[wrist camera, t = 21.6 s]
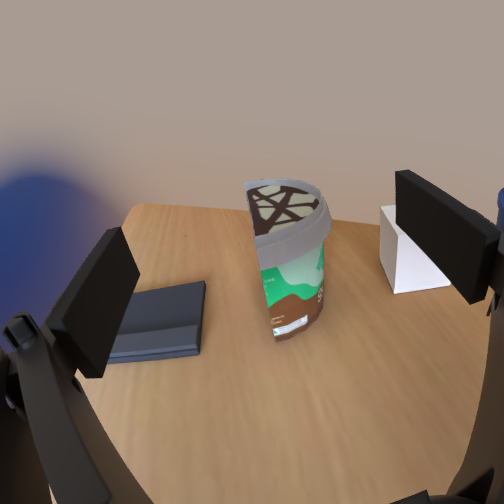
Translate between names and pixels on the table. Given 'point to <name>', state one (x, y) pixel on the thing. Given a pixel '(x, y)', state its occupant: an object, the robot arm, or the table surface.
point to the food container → (289, 250)
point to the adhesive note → (405, 258)
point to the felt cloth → (161, 324)
